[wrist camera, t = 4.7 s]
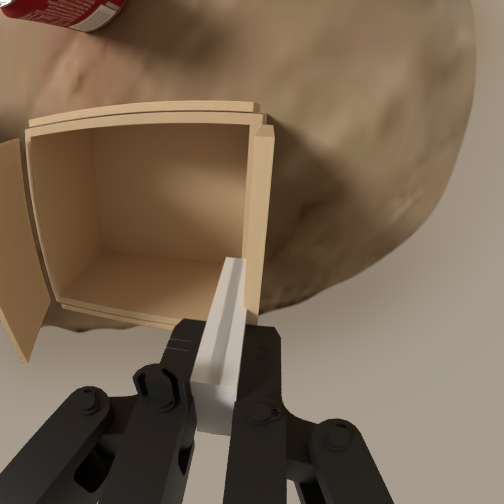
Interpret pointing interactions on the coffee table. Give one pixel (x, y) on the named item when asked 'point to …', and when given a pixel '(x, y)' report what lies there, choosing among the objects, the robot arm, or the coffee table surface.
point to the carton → (142, 205)
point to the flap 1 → (18, 258)
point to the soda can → (64, 12)
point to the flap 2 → (258, 219)
